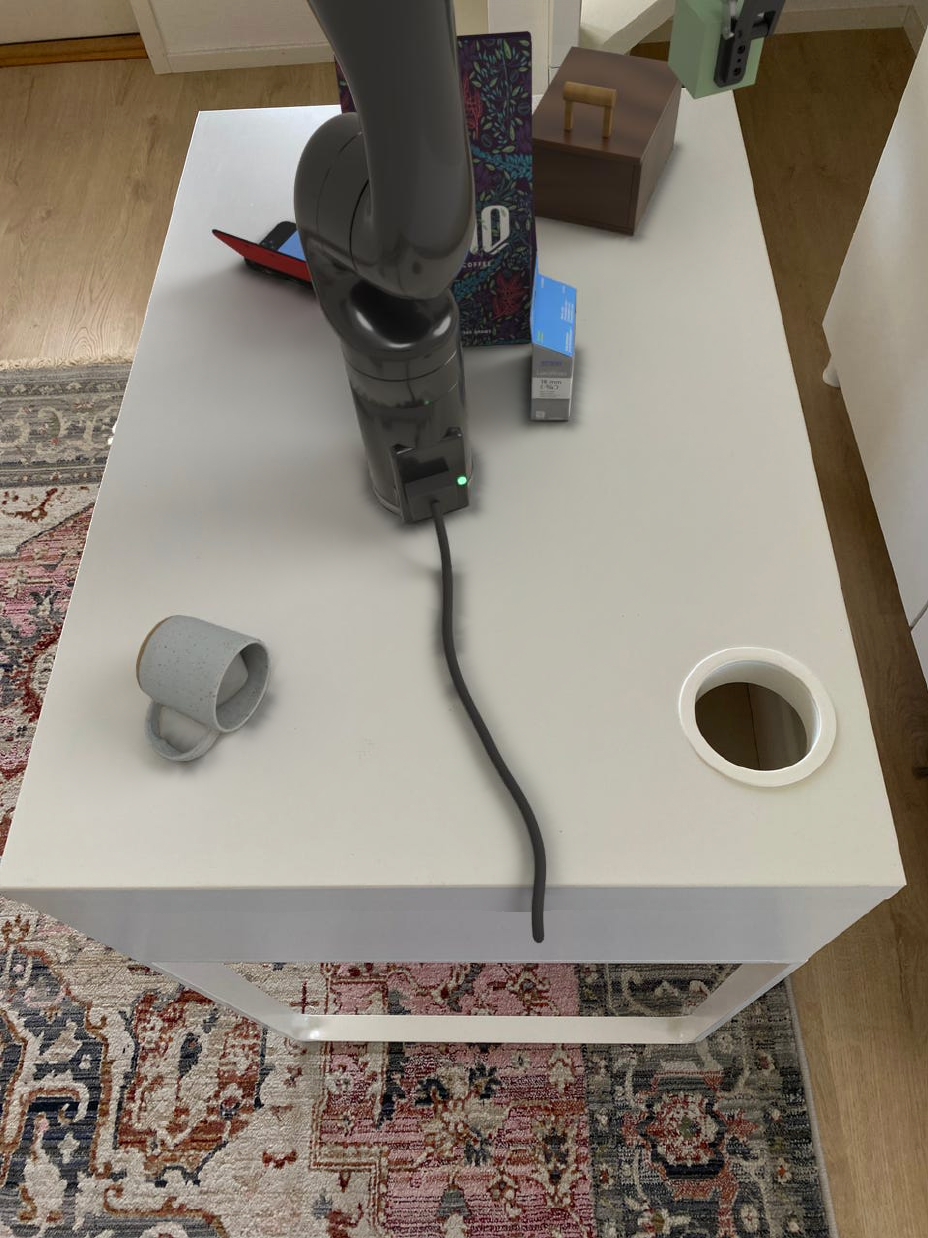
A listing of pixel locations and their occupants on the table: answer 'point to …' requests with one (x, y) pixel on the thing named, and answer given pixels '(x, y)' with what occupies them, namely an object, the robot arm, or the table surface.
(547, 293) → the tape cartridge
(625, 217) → the chest
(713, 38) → the block
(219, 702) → the ceramic mug
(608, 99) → the lid
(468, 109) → the coffee bag
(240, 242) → the handheld console
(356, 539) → the table surface
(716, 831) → the table surface
